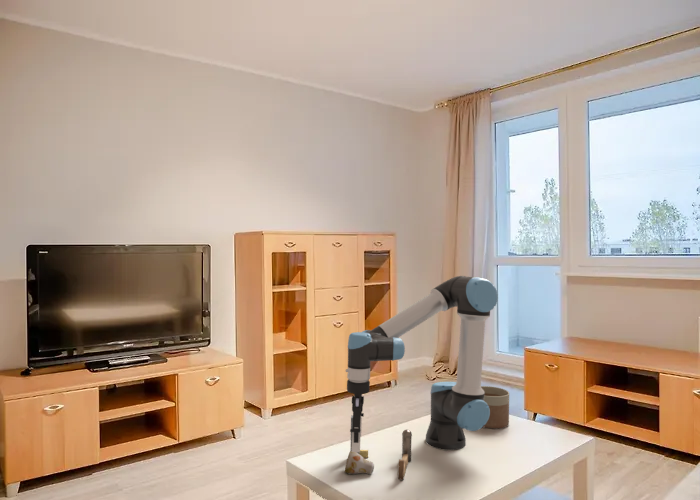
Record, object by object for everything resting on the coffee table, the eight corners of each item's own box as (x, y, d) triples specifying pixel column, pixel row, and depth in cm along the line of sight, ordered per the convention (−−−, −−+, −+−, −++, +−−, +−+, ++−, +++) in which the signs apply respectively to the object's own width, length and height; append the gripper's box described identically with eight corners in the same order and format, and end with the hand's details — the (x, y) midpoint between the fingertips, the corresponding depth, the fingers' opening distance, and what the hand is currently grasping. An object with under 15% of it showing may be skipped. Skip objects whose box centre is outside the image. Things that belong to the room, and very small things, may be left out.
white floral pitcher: (376, 479, 168) (362, 454, 167) (350, 488, 171) (336, 464, 169) (378, 464, 175) (364, 440, 174) (353, 473, 178) (339, 450, 176)
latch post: (368, 456, 185) (368, 415, 185) (367, 461, 181) (368, 418, 181) (350, 456, 185) (351, 414, 185) (350, 460, 182) (350, 417, 182)
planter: (502, 432, 211) (503, 398, 211) (465, 424, 220) (465, 392, 220) (513, 421, 224) (513, 389, 224) (477, 414, 233) (478, 384, 233)
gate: (403, 462, 180) (403, 445, 180) (408, 462, 180) (408, 445, 179) (398, 479, 167) (398, 460, 167) (403, 479, 166) (403, 461, 166)
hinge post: (411, 458, 184) (411, 428, 184) (411, 462, 180) (412, 431, 180) (401, 458, 184) (401, 428, 184) (402, 462, 181) (402, 431, 180)
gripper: (349, 370, 184) (347, 429, 184) (344, 389, 159) (342, 458, 159) (370, 371, 183) (368, 430, 184) (369, 390, 159) (367, 459, 159)
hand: (356, 443), depth 171 cm, fingers open, 13 cm apart
